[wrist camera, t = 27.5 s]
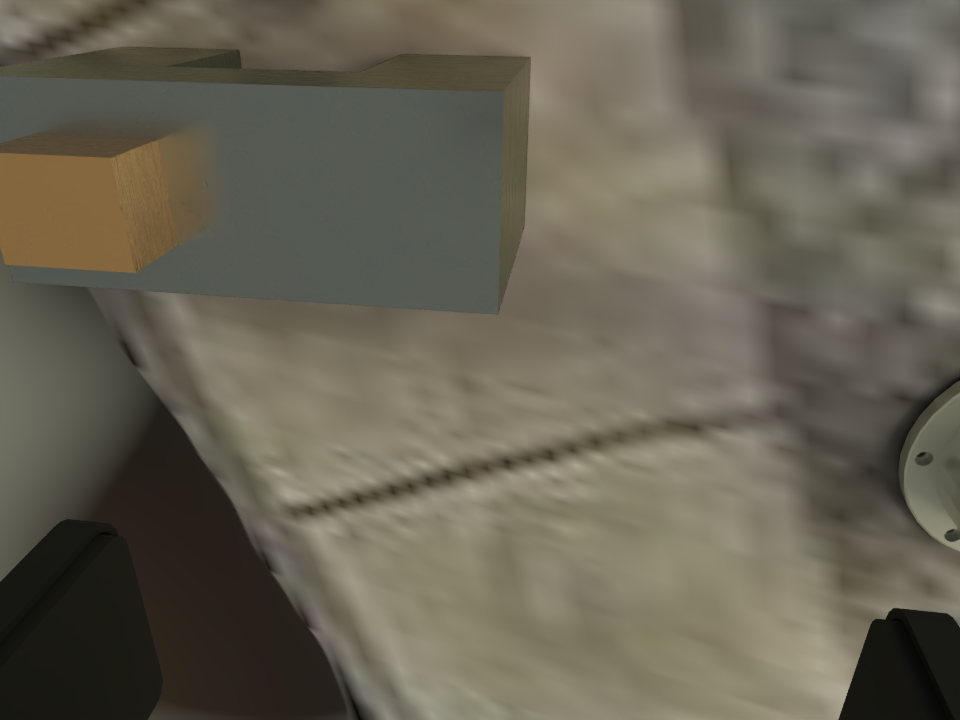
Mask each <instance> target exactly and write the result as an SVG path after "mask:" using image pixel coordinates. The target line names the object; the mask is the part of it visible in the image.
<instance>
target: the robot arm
mask: <svg viewBox="0 0 960 720" xmlns="http://www.w3.org/2000/svg"><path fill="white" fill-rule="evenodd" d="M898 473H899V481H900V489H901V491H902V494H903V496H904V499H905V501H906V504H907V506H908V507H909V509H910V511H911V512H912V514H913V516H914V517H915V519H916V521H917V522H918V523H919V524H920V525H921V526H922V527H923V529H924V530H925V531H926V532H927V533H928V534H929V535H930V536H932V537H933V538H934V539H936V540H937V541H939V542H940V543H941V544H943V545H945V546H947V547H949V548H952V549H954V550H956V551H958V552H960V381H958V382H956V383H955V384H954V385H952V386H951V387H950V388H948V389H947V390H946V391H945V392H943V393H942V394H941V395H939V396H938V397H937V398H936V399H935V400H934V401H933V402H932V403H931V404H930V405H929V406H928V407H927V408H926V409H925V410H924V411H923V413H922V414H921V415H920V416H919V417H918V419H917V420H916V422H915V424H914V425H913V427H912V428H911V430H910V431H909V433H908V435H907V438H906V440H905V443H904V445H903V448H902V451H901V454H900V462H899V469H898ZM162 682H163V680H162V673H161V669H160V665H159V661H158V658H157V654H156V650H155V646H154V643H153V639H152V635H151V631H150V627H149V623H148V619H147V616H146V612H145V608H144V604H143V600H142V597H141V593H140V589H139V585H138V581H137V578H136V574H135V570H134V567H133V562H132V559H131V555H130V551H129V547H128V544H127V541H126V539H124V538H123V537H121V536H118V533H117V532H116V529H115V528H114V527H113V526H112V525H111V524H107V523H98V522H88V521H80V520H70V519H67V520H64V521H61V522H60V523H59V524H57V525H56V526H55V527H54V528H53V529H52V530H51V531H50V532H49V533H48V534H47V535H46V536H45V537H44V538H43V539H42V540H41V541H40V542H39V543H38V544H37V545H36V546H35V547H34V548H33V549H32V550H31V551H30V552H29V553H28V554H27V555H26V556H25V557H24V558H23V559H22V560H21V561H20V562H19V564H17V565H16V567H15V568H14V569H13V570H12V571H11V572H10V573H9V574H8V575H7V576H6V577H5V578H4V579H3V580H2V581H1V582H0V720H148V718H149V716H150V715H151V713H152V711H153V710H154V708H155V706H156V704H157V702H158V700H159V697H160V694H161V689H162ZM839 720H960V628H959V626H958V624H957V623H956V621H955V620H954V618H953V617H951V616H950V615H948V614H946V613H937V612H927V611H918V610H909V609H899V608H893V609H892V610H891V611H890V612H889V613H888V615H887V617H886V619H885V620H882V619H875V620H874V621H873V622H872V624H871V626H870V628H869V631H868V634H867V637H866V640H865V643H864V646H863V649H862V652H861V655H860V658H859V661H858V664H857V667H856V669H855V672H854V675H853V678H852V681H851V684H850V687H849V690H848V693H847V696H846V699H845V702H844V705H843V708H842V711H841V714H840V717H839Z"/></svg>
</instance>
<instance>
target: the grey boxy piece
mask: <svg viewBox="0 0 960 720" xmlns="http://www.w3.org/2000/svg"><path fill="white" fill-rule="evenodd" d="M530 65H531V57H500V56H461V55H422V54H401V55H399V56H397V57H394V58H392V59H390V60H387V61H385V62H383V63H381V64H378V65H376V66H374V67H371V68H369V69H367V70H364V71H362V72H331V71H297V70H262V69H241V61H240V53H239V50H226V49H187V48H148V47H118V48H112V49H106V50H100V51H94V52H88V53H82V54H76V55H70V56H64V57H58V58H52V59H46V60H40V61H34V62H28V63H22V64H16V65H10V66H4V67H0V249H1V252H2V256H3V259H4V262H5V265H9V268H10V272H11V275H12V279H13V282H21V283H36V284H51V285H66V286H82V287H95V288H110V289H125V290H140V291H155V292H170V293H185V294H200V295H215V296H230V297H245V298H260V299H274V300H289V301H304V302H319V303H334V304H349V305H364V306H379V307H394V308H409V309H424V310H439V311H453V312H468V313H483V314H498V313H499V310H500V306H501V303H502V300H503V296H504V293H505V290H506V286H507V283H508V280H509V276H510V273H511V270H512V267H513V263H514V260H515V257H516V253H517V250H518V247H519V243H520V240H521V237H522V233H523V230H524V224H525V198H526V171H527V145H528V118H529V92H530Z"/></svg>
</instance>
